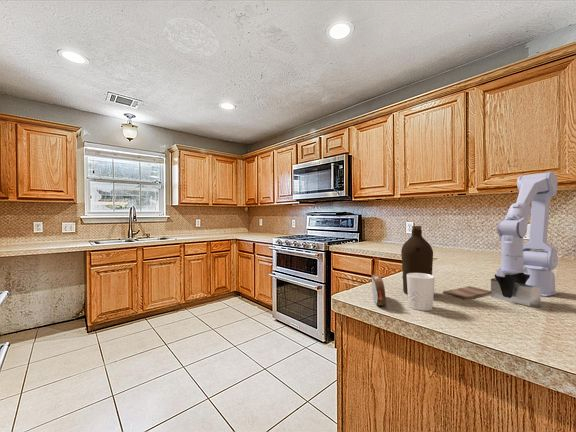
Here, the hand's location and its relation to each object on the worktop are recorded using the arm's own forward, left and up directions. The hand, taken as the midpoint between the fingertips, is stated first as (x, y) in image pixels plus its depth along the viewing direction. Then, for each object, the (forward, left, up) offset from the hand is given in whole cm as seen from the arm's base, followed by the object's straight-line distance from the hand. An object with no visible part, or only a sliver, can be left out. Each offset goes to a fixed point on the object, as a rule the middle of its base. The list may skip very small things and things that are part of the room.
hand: (512, 295), depth 89 cm
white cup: (+33, -9, -2) cm, 34 cm away
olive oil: (+21, -20, -2) cm, 29 cm away
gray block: (0, 0, -2) cm, 2 cm away
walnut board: (+5, -12, -2) cm, 13 cm away
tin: (+41, -19, -2) cm, 45 cm away
